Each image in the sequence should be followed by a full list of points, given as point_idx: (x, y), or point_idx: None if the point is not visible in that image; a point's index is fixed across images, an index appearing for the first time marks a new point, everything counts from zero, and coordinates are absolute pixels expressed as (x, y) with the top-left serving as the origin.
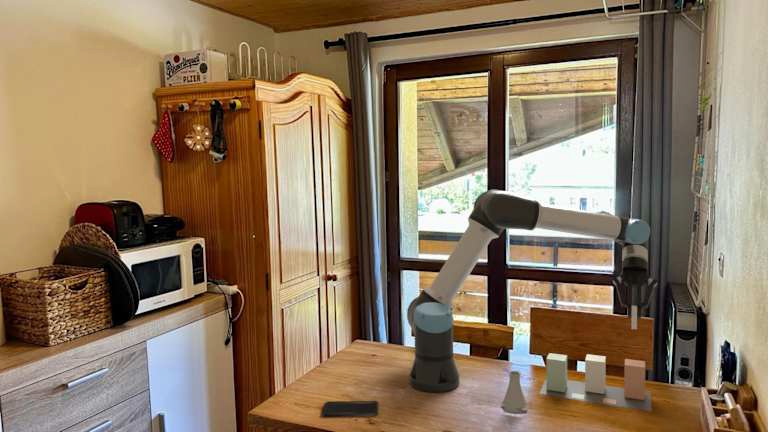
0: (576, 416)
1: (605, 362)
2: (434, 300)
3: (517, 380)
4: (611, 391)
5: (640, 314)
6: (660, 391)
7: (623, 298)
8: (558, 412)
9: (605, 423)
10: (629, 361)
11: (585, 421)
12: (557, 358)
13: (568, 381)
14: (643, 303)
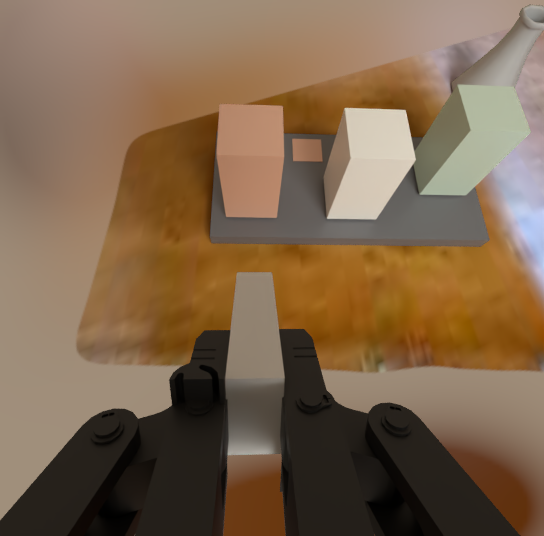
0: (360, 102)
1: (344, 162)
2: None
3: (515, 24)
4: (308, 205)
5: (202, 343)
6: (180, 294)
7: (415, 466)
8: (397, 106)
9: (304, 93)
10: (268, 137)
11: (340, 90)
12: (486, 97)
13: (425, 229)
14: (138, 453)
